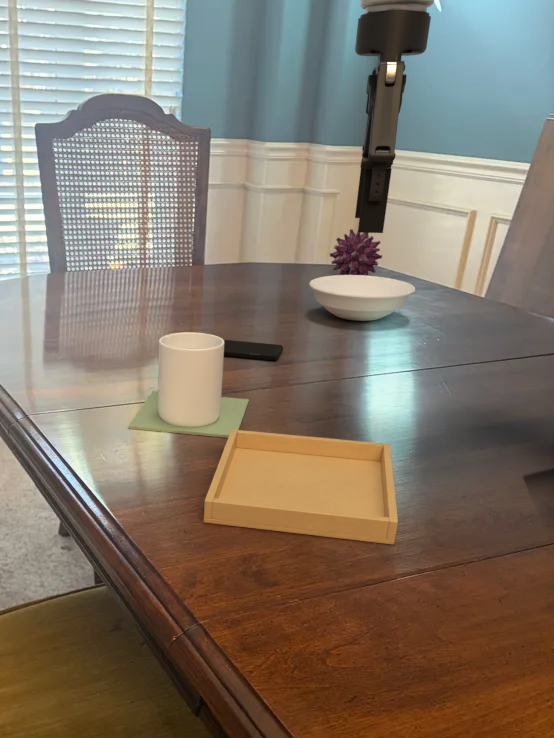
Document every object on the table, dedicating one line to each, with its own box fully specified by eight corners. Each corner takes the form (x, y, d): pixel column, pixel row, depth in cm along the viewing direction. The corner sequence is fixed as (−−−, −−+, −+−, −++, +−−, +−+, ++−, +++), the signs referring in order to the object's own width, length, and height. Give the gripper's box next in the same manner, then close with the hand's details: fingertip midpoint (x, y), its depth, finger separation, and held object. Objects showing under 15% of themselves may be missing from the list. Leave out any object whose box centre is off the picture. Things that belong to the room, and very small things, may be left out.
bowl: (346, 336, 139) (351, 300, 136) (286, 311, 155) (289, 279, 152) (431, 325, 146) (438, 290, 143) (366, 303, 162) (370, 271, 159)
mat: (248, 401, 109) (249, 399, 109) (235, 438, 97) (236, 435, 97) (152, 393, 111) (152, 391, 111) (128, 428, 100) (128, 425, 99)
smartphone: (277, 356, 125) (188, 348, 129) (277, 361, 125) (187, 353, 129) (284, 344, 130) (198, 337, 134) (283, 349, 131) (198, 341, 135)
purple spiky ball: (354, 294, 177) (313, 275, 183) (383, 284, 183) (343, 266, 189) (369, 243, 169) (326, 225, 175) (399, 235, 176) (357, 218, 182)
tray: (386, 463, 91) (390, 443, 89) (393, 544, 74) (398, 522, 73) (230, 448, 94) (231, 429, 93) (203, 522, 78) (204, 500, 76)
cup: (151, 424, 100) (152, 347, 95) (170, 394, 110) (171, 323, 105) (215, 430, 98) (219, 352, 93) (227, 399, 108) (232, 327, 103)
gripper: (356, 23, 93) (335, 212, 104) (362, -3, 72) (336, 238, 82) (420, 22, 92) (393, 213, 102) (446, -5, 71) (409, 240, 81)
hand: (367, 225), depth 92 cm, fingers open, 13 cm apart
